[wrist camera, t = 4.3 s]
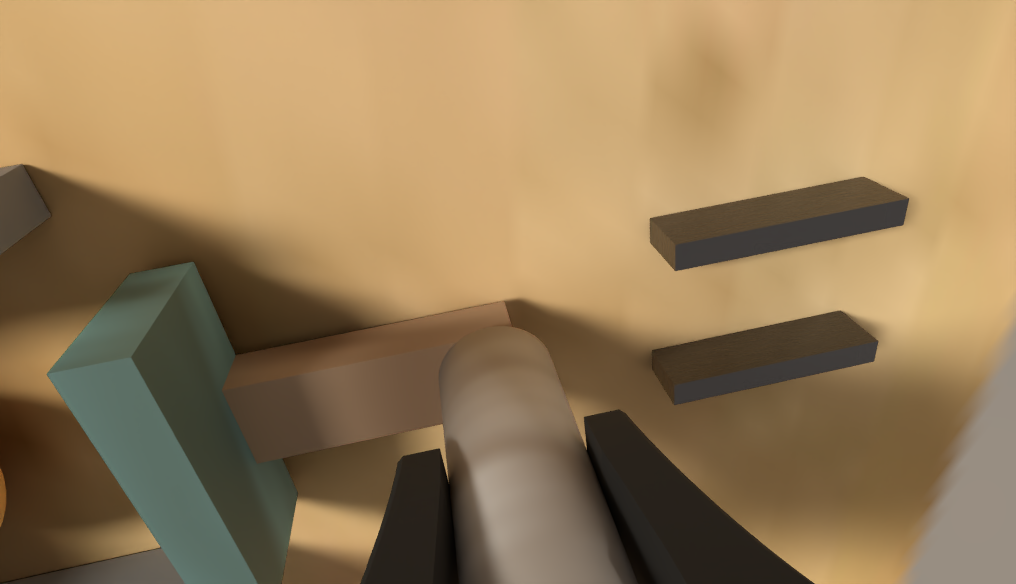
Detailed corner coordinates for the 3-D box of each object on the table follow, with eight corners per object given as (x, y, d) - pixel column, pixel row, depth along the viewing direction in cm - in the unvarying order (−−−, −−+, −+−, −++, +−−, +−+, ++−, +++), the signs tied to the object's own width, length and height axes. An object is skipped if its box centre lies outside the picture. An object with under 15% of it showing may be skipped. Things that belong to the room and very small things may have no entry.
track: (652, 369, 15) (674, 404, 14) (650, 218, 13) (675, 244, 12) (837, 330, 16) (874, 361, 14) (863, 176, 14) (908, 198, 12)
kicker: (248, 503, 15) (114, 1005, 8) (129, 273, 12) (-288, 778, 4) (553, 436, 15) (688, 848, 8) (522, 199, 12) (701, 543, 5)
